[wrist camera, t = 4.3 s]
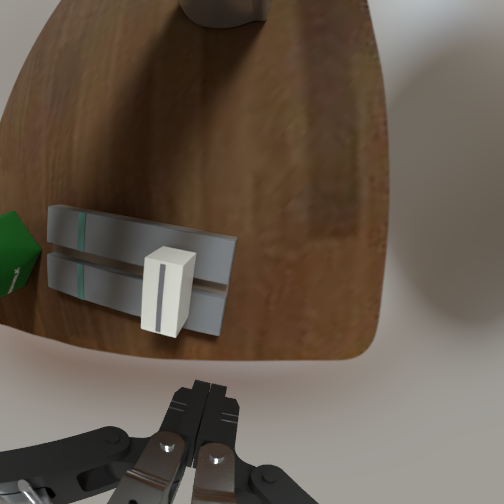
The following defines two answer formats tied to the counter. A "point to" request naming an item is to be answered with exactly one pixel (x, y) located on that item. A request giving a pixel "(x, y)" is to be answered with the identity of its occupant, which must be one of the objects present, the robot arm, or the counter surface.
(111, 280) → the slider panel
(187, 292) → the slider knob
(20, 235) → the milk carton
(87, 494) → the robot arm
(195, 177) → the counter surface
